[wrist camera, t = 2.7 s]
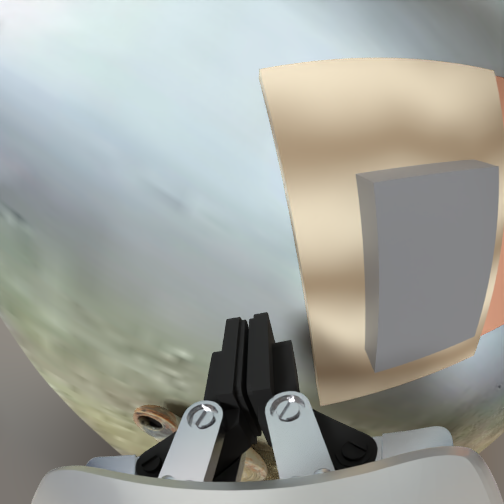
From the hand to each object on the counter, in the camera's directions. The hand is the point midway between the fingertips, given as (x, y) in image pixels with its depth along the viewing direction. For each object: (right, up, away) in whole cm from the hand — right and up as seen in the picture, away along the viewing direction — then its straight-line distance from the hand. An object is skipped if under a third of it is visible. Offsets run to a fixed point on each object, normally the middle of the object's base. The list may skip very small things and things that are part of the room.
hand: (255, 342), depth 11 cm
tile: (+9, +3, 0) cm, 9 cm away
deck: (+9, +4, +3) cm, 10 cm away
